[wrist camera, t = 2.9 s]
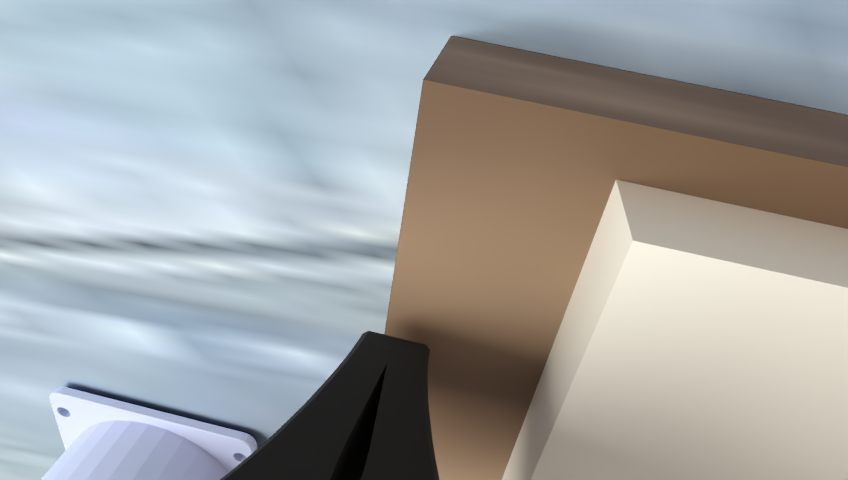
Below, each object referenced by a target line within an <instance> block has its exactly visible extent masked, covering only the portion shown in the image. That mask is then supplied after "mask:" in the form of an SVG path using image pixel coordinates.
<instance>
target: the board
mask: <svg viewBox="0 0 848 480" xmlns="http://www.w3.org/2000/svg"><path fill="white" fill-rule="evenodd" d="M616 180H620V181H625V182H630V183H635V184H639V185H644V186H649V187H653V188H658V189H663V190H667V191H672V192H677V193H681V194H686V195H691V196H695V197H700V198H705V199H710V200H714V201H719V202H724V203H728V204H733V205H738V206H742V207H747V208H752V209H756V210H761V211H766V212H770V213H775V214H780V215H784V216H789V217H794V218H799V219H803V220H808V221H813V222H817V223H822V224H827V225H831V226H836V227H841V228H845V229H848V115H845V114H840V113H835V112H830V111H825V110H820V109H815V108H810V107H805V106H800V105H795V104H790V103H785V102H780V101H775V100H770V99H765V98H760V97H755V96H750V95H745V94H740V93H735V92H730V91H725V90H720V89H715V88H710V87H705V86H700V85H695V84H690V83H685V82H680V81H675V80H670V79H665V78H660V77H655V76H650V75H645V74H640V73H635V72H630V71H625V70H620V69H615V68H610V67H605V66H600V65H595V64H590V63H585V62H580V61H575V60H570V59H565V58H560V57H555V56H550V55H545V54H540V53H535V52H530V51H525V50H520V49H515V48H510V47H505V46H500V45H495V44H490V43H485V42H480V41H475V40H470V39H465V38H460V37H455V36H451V37H450V39H449V40H448V42H447V43H446V45H445V47H444V48H443V50H442V51H441V53H440V54H439V56H438V58H437V59H436V61H435V62H434V64H433V65H432V67H431V68H430V70H429V72H428V73H427V75H426V76H425V78H424V79H423V85H422V92H421V98H420V105H419V111H418V118H417V124H416V131H415V138H414V144H413V151H412V157H411V164H410V170H409V177H408V183H407V190H406V197H405V203H404V210H403V216H402V223H401V229H400V236H399V243H398V249H397V256H396V262H395V269H394V275H393V282H392V288H391V295H390V302H389V308H388V315H387V321H386V328H385V334H384V335H388V336H392V337H396V338H400V339H405V340H409V341H413V342H417V343H422V344H426V345H427V347H428V348H429V349H430V354H429V360H428V404H429V415H430V423H431V432H432V440H433V446H434V453H435V459H436V464H437V469H438V475H439V480H502V477H503V475H504V472H505V470H506V467H507V464H508V462H509V459H510V456H511V454H512V451H513V449H514V446H515V443H516V441H517V438H518V435H519V433H520V430H521V428H522V425H523V422H524V420H525V417H526V414H527V412H528V409H529V407H530V404H531V401H532V399H533V396H534V393H535V391H536V388H537V386H538V383H539V380H540V378H541V375H542V372H543V370H544V367H545V365H546V362H547V359H548V357H549V354H550V351H551V349H552V346H553V344H554V341H555V338H556V336H557V333H558V330H559V328H560V325H561V322H562V320H563V317H564V315H565V312H566V309H567V307H568V304H569V301H570V299H571V296H572V294H573V291H574V288H575V286H576V283H577V280H578V278H579V275H580V273H581V270H582V267H583V265H584V262H585V259H586V257H587V254H588V252H589V249H590V246H591V244H592V241H593V238H594V236H595V233H596V231H597V228H598V225H599V223H600V220H601V217H602V215H603V212H604V210H605V207H606V204H607V202H608V199H609V196H610V194H611V191H612V188H613V186H614V183H615V181H616Z"/></svg>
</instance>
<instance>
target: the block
mask: <svg viewBox="0 0 848 480" xmlns="http://www.w3.org/2000/svg"><path fill="white" fill-rule="evenodd" d="M502 480H848V229H845V228H841V227H836V226H831V225H827V224H822V223H817V222H813V221H808V220H803V219H799V218H794V217H789V216H784V215H780V214H775V213H770V212H766V211H761V210H756V209H752V208H747V207H742V206H738V205H733V204H728V203H724V202H719V201H714V200H710V199H705V198H700V197H695V196H691V195H686V194H681V193H677V192H672V191H667V190H663V189H658V188H653V187H649V186H644V185H639V184H635V183H630V182H625V181H620V180H616V181H615V183H614V186H613V188H612V191H611V194H610V196H609V199H608V202H607V204H606V207H605V210H604V212H603V215H602V217H601V220H600V223H599V225H598V228H597V231H596V233H595V236H594V238H593V241H592V244H591V246H590V249H589V252H588V254H587V257H586V259H585V262H584V265H583V267H582V270H581V273H580V275H579V278H578V280H577V283H576V286H575V288H574V291H573V294H572V296H571V299H570V301H569V304H568V307H567V309H566V312H565V315H564V317H563V320H562V322H561V325H560V328H559V330H558V333H557V336H556V338H555V341H554V344H553V346H552V349H551V351H550V354H549V357H548V359H547V362H546V365H545V367H544V370H543V372H542V375H541V378H540V380H539V383H538V386H537V388H536V391H535V393H534V396H533V399H532V401H531V404H530V407H529V409H528V412H527V414H526V417H525V420H524V422H523V425H522V428H521V430H520V433H519V435H518V438H517V441H516V443H515V446H514V449H513V451H512V454H511V456H510V459H509V462H508V464H507V467H506V470H505V472H504V475H503V477H502Z"/></svg>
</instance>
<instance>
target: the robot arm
mask: <svg viewBox="0 0 848 480" xmlns="http://www.w3.org/2000/svg"><path fill="white" fill-rule="evenodd" d="M429 354H430V349H429V348H428V347H427V345H426V344H422V343H417V342H413V341H409V340H405V339H400V338H396V337H392V336H388V335H384V334H379V333H375V332H371V331H368V332H366V333H364V334H362V336H361V337H360V339H359V340H358V342H357V343H356V345H355V346H354V347H353V349H352V350H351V352H350V353H349V354H348V355H347V357H346V358H345V359H344V360H343V362H342V363H341V364H340V365H339V367H338V368H337V369H336V370H335V371H334V372H333V374H332V375H331V376H330V377H329V378H328V379H327V380H326V382H325V383H324V384H323V385H322V386H321V387H320V388H319V389H318V390H317V391H316V392H315V394H314V395H313V396H312V397H311V398H310V399H309V400H308V401H307V402H306V403H305V404H304V405H303V406H302V407H301V408H300V409H299V410H298V411H297V412H296V413H295V414H294V415H293V416H292V417H291V418H290V419H289V420H288V421H287V422H286V423H285V424H284V425H283V426H282V427H281V428H280V429H279V430H278V431H277V432H276V433H274V434H273V435H272V436H271V437H270V438H269V439H268V440H267V441H266V442H265V443H263V444H262V445H261V446H260V447H259V448H258V449H257V443H256V440H255V439H254V438H253V437H252V436H251V435H249V434H247V433H244V432H240V431H236V430H232V429H229V428H225V427H221V426H217V425H213V424H209V423H205V422H201V421H197V420H193V419H189V418H185V417H181V416H178V415H174V414H170V413H166V412H162V411H158V410H154V409H150V408H146V407H142V406H138V405H134V404H130V403H127V402H123V401H119V400H115V399H111V398H107V397H103V396H99V395H95V394H91V393H87V392H83V391H79V390H76V389H72V388H68V387H58V388H56V389H55V390H54V391H53V392H52V393H51V395H50V396H49V397H50V402H51V406H52V409H53V412H54V415H55V418H56V421H57V424H58V428H59V431H60V434H61V437H62V440H63V443H64V446H65V450H66V451H65V452H64V453H63V454H62V455H61V457H60V458H59V459H58V460H57V461H56V462H55V464H54V465H53V466H52V467H51V468H50V469H49V471H48V472H47V473H46V474H45V475H44V476H43V478H42V479H41V480H439V475H438V469H437V464H436V459H435V453H434V446H433V440H432V432H431V423H430V415H429V404H428V360H429Z"/></svg>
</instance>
